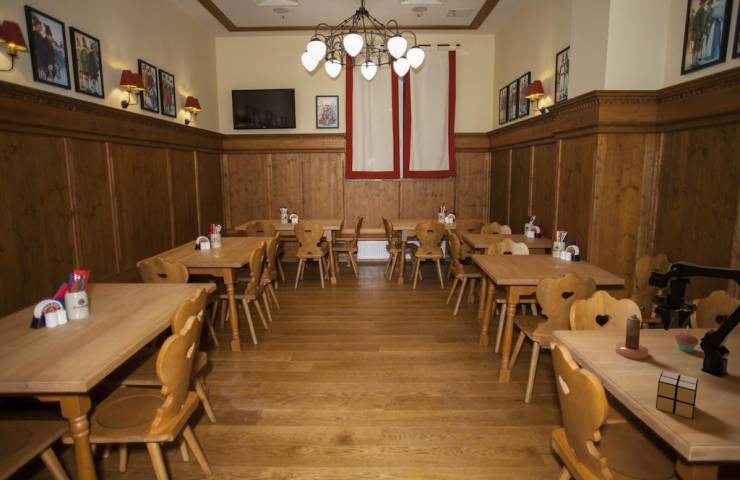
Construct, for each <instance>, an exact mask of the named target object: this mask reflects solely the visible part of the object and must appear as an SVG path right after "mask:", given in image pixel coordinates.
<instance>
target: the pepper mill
mask: <svg viewBox="0 0 740 480" xmlns="http://www.w3.org/2000/svg"><path fill="white" fill-rule="evenodd" d="M625 327H626V329H625V330H626V331H625V341H624V342H625V347H627V348H630V349H639V345H640V338H641V337H640V335H641V320H640V318H639V317H638V315H637V314H635V313H633V314H631V315H630V316H628V318H627V319H626V326H625Z"/></svg>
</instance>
